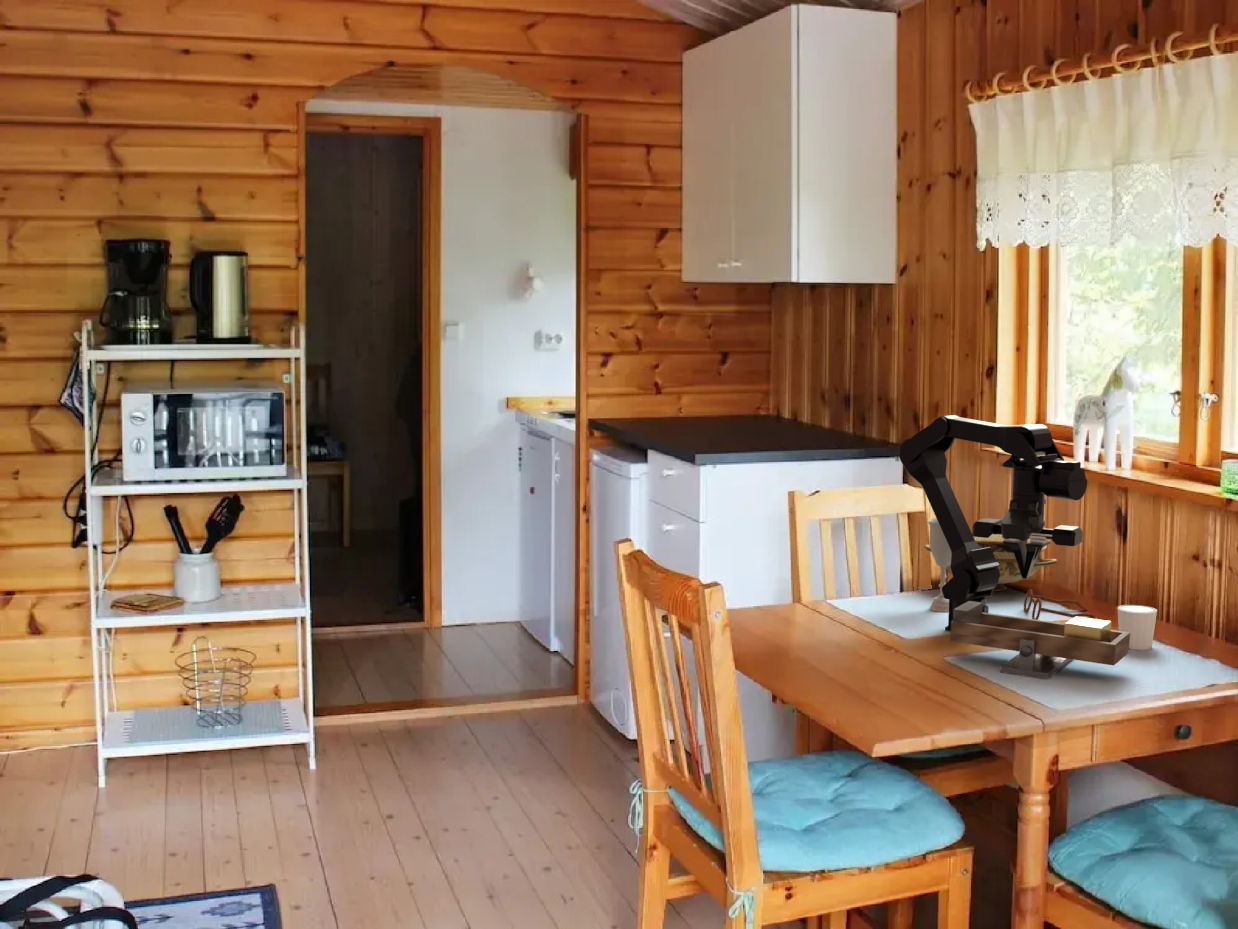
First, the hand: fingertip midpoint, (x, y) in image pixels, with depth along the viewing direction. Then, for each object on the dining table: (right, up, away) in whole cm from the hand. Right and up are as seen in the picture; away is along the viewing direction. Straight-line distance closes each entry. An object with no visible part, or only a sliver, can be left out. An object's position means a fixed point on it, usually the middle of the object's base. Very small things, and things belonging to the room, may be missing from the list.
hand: (1025, 578), depth 267 cm
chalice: (-9, -9, +28) cm, 31 cm away
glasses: (+13, -10, +22) cm, 27 cm away
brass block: (+5, -10, -19) cm, 22 cm away
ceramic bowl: (+5, -6, +49) cm, 49 cm away
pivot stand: (-2, -14, -14) cm, 20 cm away
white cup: (+20, -12, 0) cm, 24 cm away
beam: (-2, -10, -14) cm, 18 cm away
